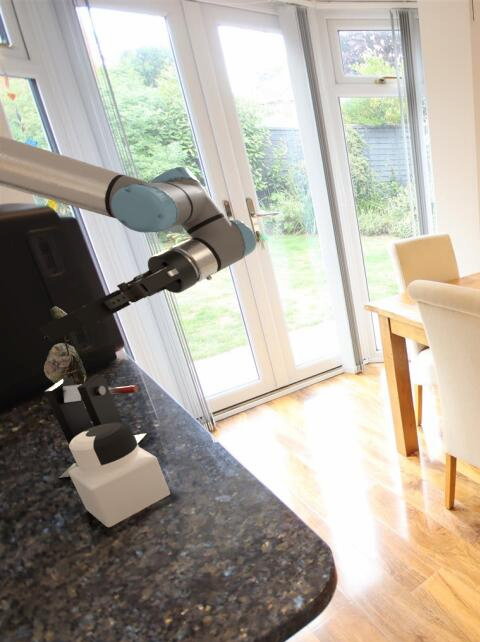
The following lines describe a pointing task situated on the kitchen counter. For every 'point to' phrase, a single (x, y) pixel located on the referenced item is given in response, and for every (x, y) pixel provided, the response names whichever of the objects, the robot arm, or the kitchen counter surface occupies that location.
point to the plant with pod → (64, 359)
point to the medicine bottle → (115, 473)
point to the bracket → (75, 414)
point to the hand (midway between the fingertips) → (62, 327)
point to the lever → (74, 396)
